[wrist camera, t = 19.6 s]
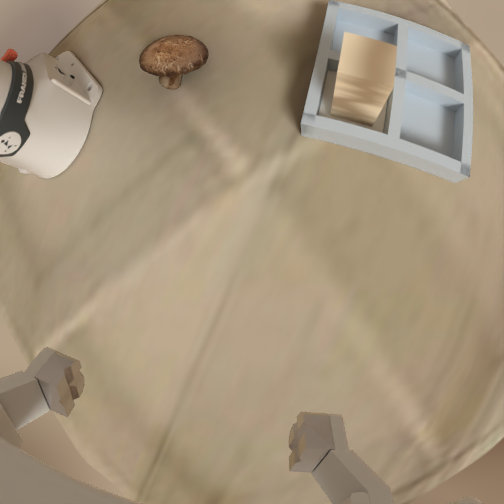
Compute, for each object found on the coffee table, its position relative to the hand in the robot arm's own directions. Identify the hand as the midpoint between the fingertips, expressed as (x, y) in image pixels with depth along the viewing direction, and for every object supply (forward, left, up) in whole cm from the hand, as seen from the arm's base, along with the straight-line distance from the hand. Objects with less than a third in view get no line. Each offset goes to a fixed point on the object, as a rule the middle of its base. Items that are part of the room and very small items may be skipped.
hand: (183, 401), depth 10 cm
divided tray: (-12, +24, -22) cm, 35 cm away
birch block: (-12, +18, -21) cm, 30 cm away
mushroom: (-28, +5, -22) cm, 36 cm away
